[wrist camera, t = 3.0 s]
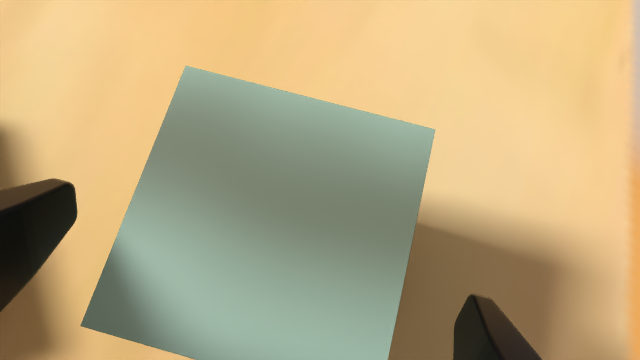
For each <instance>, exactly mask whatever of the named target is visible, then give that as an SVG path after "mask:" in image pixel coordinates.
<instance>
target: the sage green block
mask: <svg viewBox="0 0 640 360" xmlns="http://www.w3.org/2000/svg"><path fill="white" fill-rule="evenodd" d="M434 134H435V129H431V128H428V127H424V126H420V125H416V124H412V123H408V122H404V121H400V120H396V119H392V118H388V117H384V116H381V115H377V114H373V113H369V112H365V111H361V110H357V109H353V108H349V107H345V106H341V105H338V104H334V103H330V102H326V101H322V100H318V99H314V98H310V97H306V96H302V95H298V94H295V93H291V92H287V91H283V90H279V89H275V88H271V87H267V86H263V85H259V84H255V83H252V82H248V81H244V80H240V79H236V78H232V77H228V76H224V75H220V74H216V73H212V72H209V71H205V70H201V69H197V68H193V67H189V66H185V69H184V71H183V74H182V76H181V78H180V81H179V83H178V86H177V88H176V91H175V93H174V96H173V98H172V101H171V103H170V106H169V108H168V111H167V113H166V116H165V118H164V120H163V123H162V125H161V128H160V130H159V133H158V135H157V138H156V140H155V143H154V145H153V148H152V150H151V153H150V155H149V158H148V160H147V163H146V165H145V167H144V170H143V172H142V175H141V177H140V180H139V182H138V185H137V187H136V190H135V192H134V195H133V197H132V200H131V202H130V205H129V207H128V210H127V212H126V214H125V217H124V219H123V222H122V224H121V227H120V229H119V232H118V234H117V237H116V239H115V242H114V244H113V247H112V249H111V252H110V254H109V256H108V259H107V261H106V264H105V266H104V269H103V271H102V274H101V276H100V279H99V281H98V284H97V286H96V289H95V291H94V294H93V296H92V299H91V301H90V303H89V306H88V308H87V311H86V313H85V316H84V318H83V321H82V323H81V326H82V327H85V328H89V329H92V330H96V331H99V332H103V333H106V334H110V335H113V336H116V337H120V338H123V339H127V340H130V341H134V342H137V343H141V344H144V345H147V346H151V347H154V348H158V349H161V350H165V351H168V352H172V353H175V354H179V355H182V356H185V357H189V358H192V359H196V360H388V356H389V351H390V346H391V342H392V337H393V332H394V327H395V322H396V317H397V313H398V308H399V303H400V298H401V293H402V288H403V284H404V279H405V274H406V269H407V264H408V259H409V255H410V250H411V245H412V240H413V235H414V230H415V226H416V221H417V216H418V211H419V206H420V201H421V197H422V192H423V187H424V182H425V177H426V172H427V168H428V163H429V158H430V153H431V148H432V143H433V139H434Z"/></svg>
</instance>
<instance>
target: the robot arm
mask: <svg viewBox="0 0 640 360" xmlns="http://www.w3.org/2000/svg"><path fill="white" fill-rule="evenodd" d="M76 218H77V203H76V193H75V187H74V185H73V184H72V183H70V182H67V181H63V180H60V179H48V180H43V181H39V182H35V183H30V184H26V185H21V186H17V187H13V188H8V189H4V190H0V312H1V311H2V310H3V309H4V308H5V307H6V306H7V305H8V304H9V303H10V302H11V301H12V300H13V298H14V297H15V296H16V295H17V294H18V293H19V292H20V291H21V290H22V289H23V288H24V287H25V286H26V284H27V283H28V282H29V281H30V280H31V279H32V278H33V276H34V275H35V274H36V273H37V272H38V270H39V269H40V268H41V266H42V265H43V264H44V263H45V261H46V260H47V259H48V257H49V256H50V255H51V253H52V252H53V251H54V249H55V248H56V247H57V245H58V244H59V243H60V241H61V240H62V239H63V237H64V236H65V235H66V233H67V232H68V231H69V230H70V228H71V227H72V226H73V224H74V223H75V221H76ZM453 360H542V359H541V357H540V356H539V355H538V354H537V353H536V351H535V350H534V349H533V348H532V347H531V345H530V344H529V343H528V342H527V341H526V339H525V338H524V337H523V336H522V335H521V333H520V332H519V331H518V330H517V329H516V327H515V326H514V325H513V324H512V323H511V322H510V320H509V319H508V318H507V317H506V316H505V314H504V313H503V312H502V311H501V310H500V308H499V307H498V306H497V305H496V304H495V302H494V301H493V300H492V299H491V298H489V297H485V296H482V295H478V294H470V295H469V297H468V298H467V300H466V302H465V304H464V305H463V307H462V309H461V311H460V313H459V315H458V317H457V319H456V322H455V326H454V354H453Z"/></svg>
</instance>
